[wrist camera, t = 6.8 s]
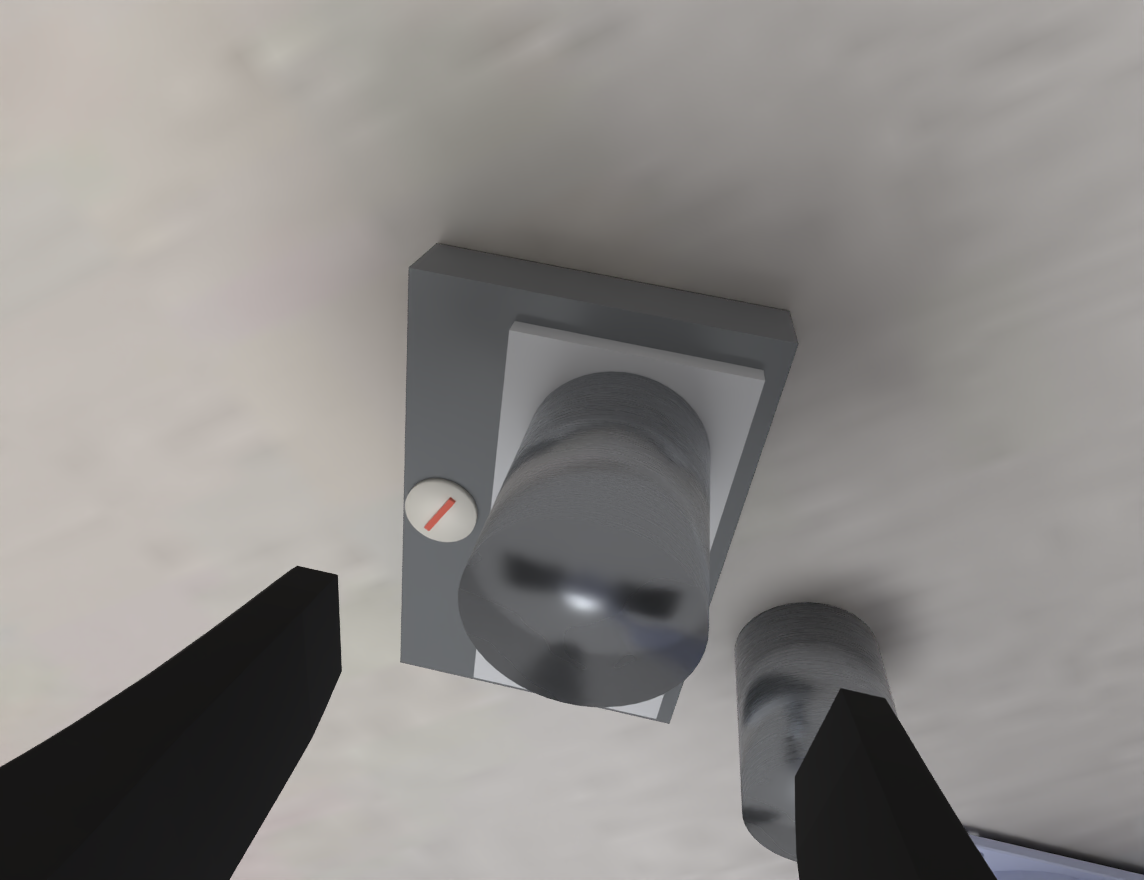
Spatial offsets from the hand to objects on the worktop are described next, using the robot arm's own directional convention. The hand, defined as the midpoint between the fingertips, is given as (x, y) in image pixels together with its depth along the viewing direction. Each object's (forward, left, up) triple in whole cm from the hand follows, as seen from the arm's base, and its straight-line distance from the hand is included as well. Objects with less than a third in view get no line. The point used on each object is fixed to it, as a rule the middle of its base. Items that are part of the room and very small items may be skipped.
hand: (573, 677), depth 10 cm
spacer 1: (0, 0, -6) cm, 6 cm away
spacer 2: (-7, +7, -9) cm, 13 cm away
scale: (+1, +3, -9) cm, 9 cm away
